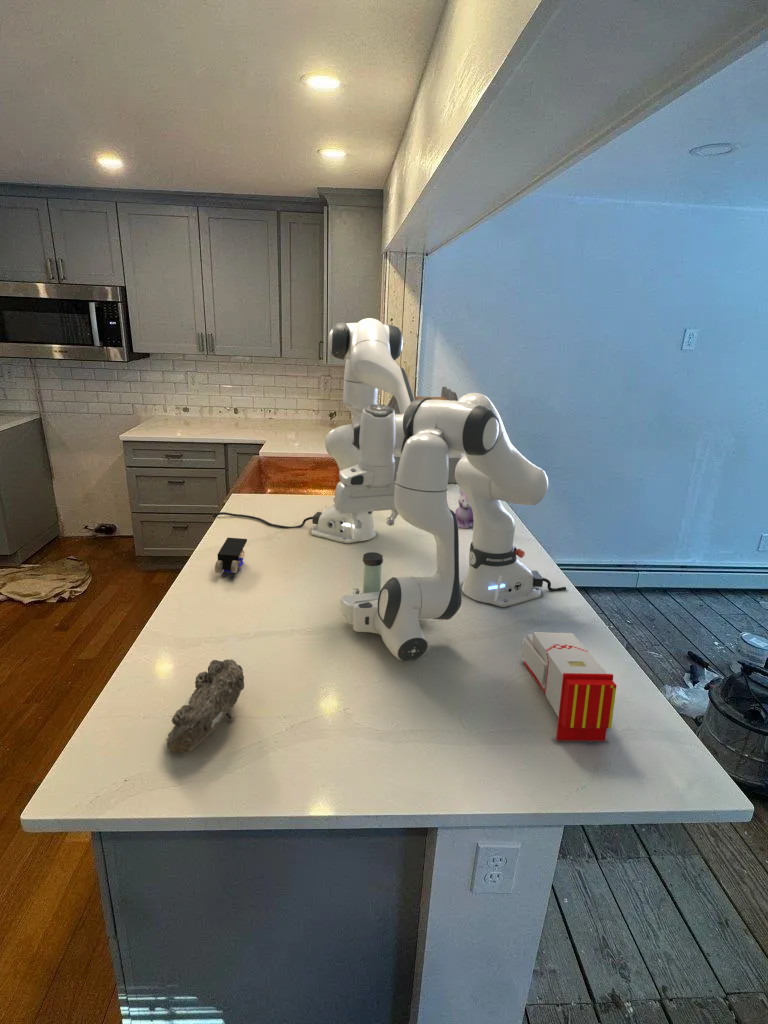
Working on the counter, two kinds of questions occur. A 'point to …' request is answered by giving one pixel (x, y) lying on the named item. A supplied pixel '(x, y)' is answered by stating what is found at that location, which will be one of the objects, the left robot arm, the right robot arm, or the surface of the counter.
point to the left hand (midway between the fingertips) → (374, 526)
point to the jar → (372, 578)
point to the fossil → (206, 705)
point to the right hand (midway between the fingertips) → (370, 588)
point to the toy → (571, 685)
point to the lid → (372, 558)
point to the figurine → (464, 512)
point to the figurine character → (230, 556)
